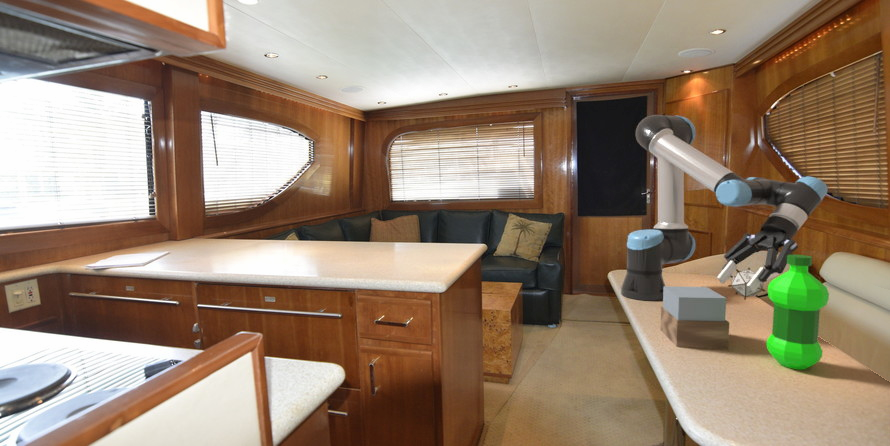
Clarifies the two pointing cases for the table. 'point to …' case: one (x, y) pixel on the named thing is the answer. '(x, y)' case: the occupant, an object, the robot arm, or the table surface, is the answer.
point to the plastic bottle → (796, 315)
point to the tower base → (695, 332)
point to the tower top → (694, 303)
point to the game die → (744, 283)
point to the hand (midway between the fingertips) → (734, 284)
